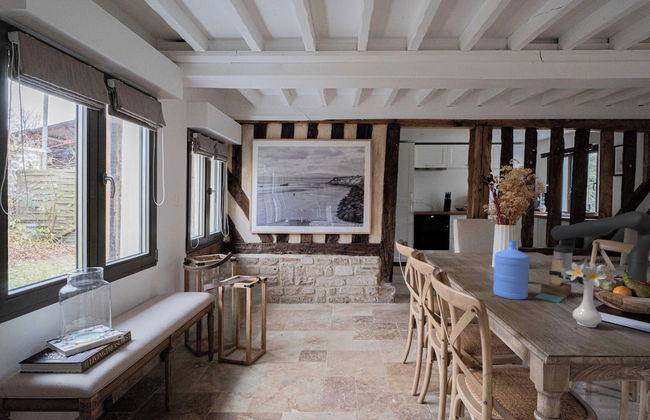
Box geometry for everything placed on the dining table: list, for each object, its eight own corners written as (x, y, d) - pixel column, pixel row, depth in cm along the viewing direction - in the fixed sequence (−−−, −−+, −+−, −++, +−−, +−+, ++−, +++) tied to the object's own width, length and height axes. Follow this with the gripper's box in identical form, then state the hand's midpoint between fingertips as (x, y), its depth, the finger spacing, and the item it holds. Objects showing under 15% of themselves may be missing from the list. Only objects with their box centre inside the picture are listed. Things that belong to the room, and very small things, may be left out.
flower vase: (554, 315, 147) (557, 257, 145) (608, 323, 139) (612, 261, 138) (560, 326, 135) (563, 263, 133) (620, 335, 127) (624, 268, 126)
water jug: (533, 301, 166) (535, 243, 164) (497, 298, 169) (500, 242, 168) (521, 292, 181) (523, 239, 180) (489, 289, 184) (491, 238, 183)
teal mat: (541, 294, 178) (541, 292, 178) (564, 298, 171) (564, 297, 171) (535, 297, 171) (535, 296, 171) (558, 302, 164) (559, 301, 164)
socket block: (546, 289, 187) (547, 280, 187) (570, 293, 179) (571, 284, 179) (540, 293, 180) (541, 283, 179) (565, 298, 172) (566, 288, 171)
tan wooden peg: (552, 292, 182) (554, 258, 181) (561, 293, 179) (563, 259, 179) (550, 293, 180) (552, 259, 179) (559, 295, 177) (561, 260, 176)
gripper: (594, 268, 173) (554, 262, 186) (589, 272, 163) (547, 266, 176) (593, 283, 174) (553, 276, 186) (588, 288, 164) (546, 281, 176)
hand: (550, 271), depth 181 cm, fingers closed on tan wooden peg, 4 cm apart
